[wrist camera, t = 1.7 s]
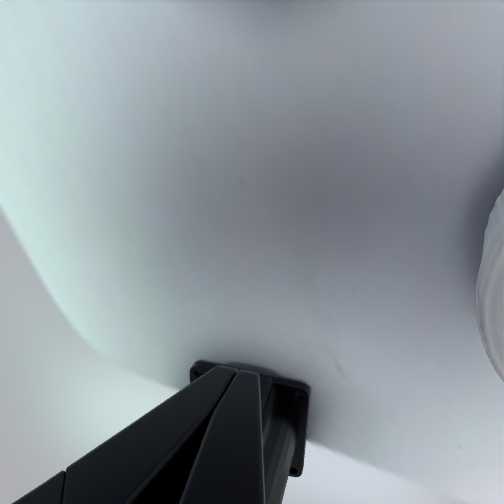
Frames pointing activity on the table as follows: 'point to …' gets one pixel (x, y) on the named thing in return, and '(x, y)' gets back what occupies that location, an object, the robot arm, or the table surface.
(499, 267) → the ramekin
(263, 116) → the table surface
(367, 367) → the table surface
